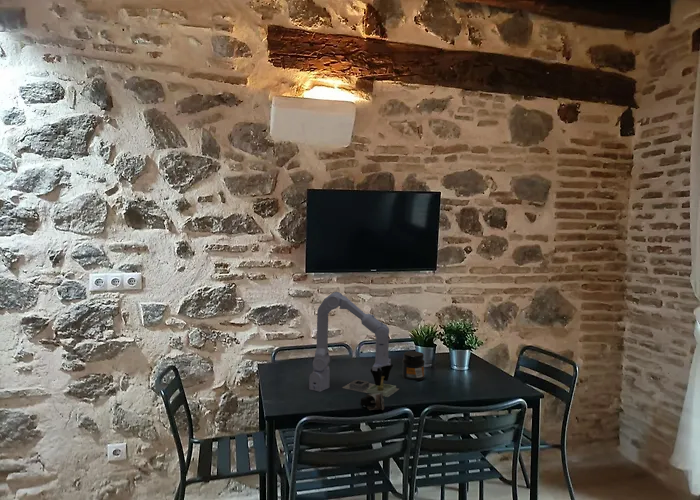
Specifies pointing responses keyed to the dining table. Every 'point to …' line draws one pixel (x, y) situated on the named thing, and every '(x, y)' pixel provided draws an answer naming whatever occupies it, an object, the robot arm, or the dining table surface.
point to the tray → (386, 389)
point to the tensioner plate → (366, 389)
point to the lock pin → (380, 388)
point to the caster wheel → (373, 401)
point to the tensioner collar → (359, 384)
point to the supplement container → (413, 365)
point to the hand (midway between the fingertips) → (381, 382)
